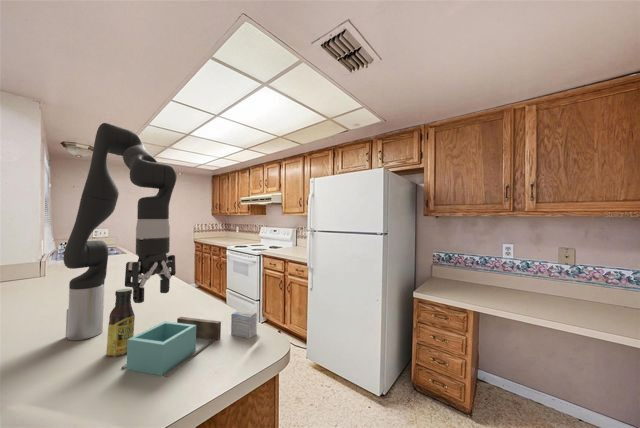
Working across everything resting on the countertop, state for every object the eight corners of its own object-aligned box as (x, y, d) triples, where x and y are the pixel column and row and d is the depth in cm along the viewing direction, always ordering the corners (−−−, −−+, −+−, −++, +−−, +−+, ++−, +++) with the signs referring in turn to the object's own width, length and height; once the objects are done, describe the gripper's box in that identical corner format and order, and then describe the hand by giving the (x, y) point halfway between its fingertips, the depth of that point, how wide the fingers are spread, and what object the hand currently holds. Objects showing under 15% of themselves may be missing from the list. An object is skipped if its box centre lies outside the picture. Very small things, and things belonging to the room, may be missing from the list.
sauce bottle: (117, 363, 72) (120, 294, 72) (100, 360, 73) (103, 292, 74) (138, 351, 78) (140, 288, 79) (122, 349, 80) (124, 286, 80)
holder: (126, 369, 67) (127, 339, 67) (164, 346, 79) (164, 321, 79) (162, 375, 65) (163, 344, 65) (195, 351, 77) (196, 325, 77)
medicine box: (256, 336, 90) (257, 312, 90) (249, 342, 86) (250, 316, 86) (238, 333, 93) (239, 309, 93) (230, 338, 88) (231, 313, 89)
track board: (118, 373, 67) (119, 347, 68) (180, 336, 89) (180, 316, 89) (169, 382, 64) (169, 355, 64) (220, 342, 86) (220, 321, 86)
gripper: (160, 234, 74) (160, 289, 74) (115, 238, 60) (114, 306, 60) (183, 234, 73) (183, 290, 73) (143, 238, 59) (142, 307, 59)
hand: (152, 297), depth 66 cm, fingers open, 8 cm apart
